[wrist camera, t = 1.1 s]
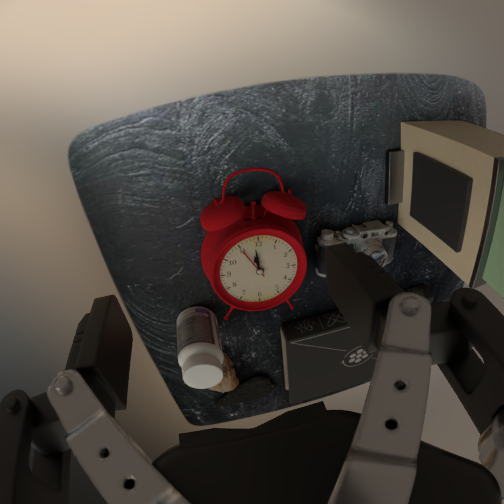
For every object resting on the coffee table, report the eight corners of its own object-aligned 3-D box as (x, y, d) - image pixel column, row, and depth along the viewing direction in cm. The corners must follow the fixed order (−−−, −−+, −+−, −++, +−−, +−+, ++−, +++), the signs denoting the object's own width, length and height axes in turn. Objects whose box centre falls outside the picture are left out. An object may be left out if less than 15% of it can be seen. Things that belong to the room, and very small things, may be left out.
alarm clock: (212, 329, 33) (192, 210, 22) (205, 284, 37) (188, 168, 27) (309, 312, 34) (331, 194, 24) (292, 270, 39) (304, 156, 28)
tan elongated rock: (227, 333, 40) (190, 347, 38) (240, 351, 38) (202, 367, 36) (233, 381, 46) (203, 394, 44) (245, 398, 43) (213, 412, 41)
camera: (311, 228, 33) (326, 247, 30) (393, 216, 35) (413, 233, 31) (309, 269, 36) (323, 291, 32) (387, 254, 37) (405, 272, 34)
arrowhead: (278, 392, 46) (219, 415, 46) (276, 389, 47) (219, 412, 47) (265, 374, 43) (201, 400, 43) (263, 370, 43) (200, 396, 43)
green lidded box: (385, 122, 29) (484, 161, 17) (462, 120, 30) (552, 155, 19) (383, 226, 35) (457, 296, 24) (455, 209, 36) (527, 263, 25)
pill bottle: (168, 322, 36) (168, 379, 29) (194, 298, 35) (200, 355, 28) (198, 341, 38) (205, 396, 31) (225, 318, 37) (237, 374, 30)
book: (423, 281, 42) (435, 294, 39) (405, 350, 49) (413, 362, 47) (279, 322, 39) (285, 339, 37) (285, 389, 47) (290, 404, 45)
